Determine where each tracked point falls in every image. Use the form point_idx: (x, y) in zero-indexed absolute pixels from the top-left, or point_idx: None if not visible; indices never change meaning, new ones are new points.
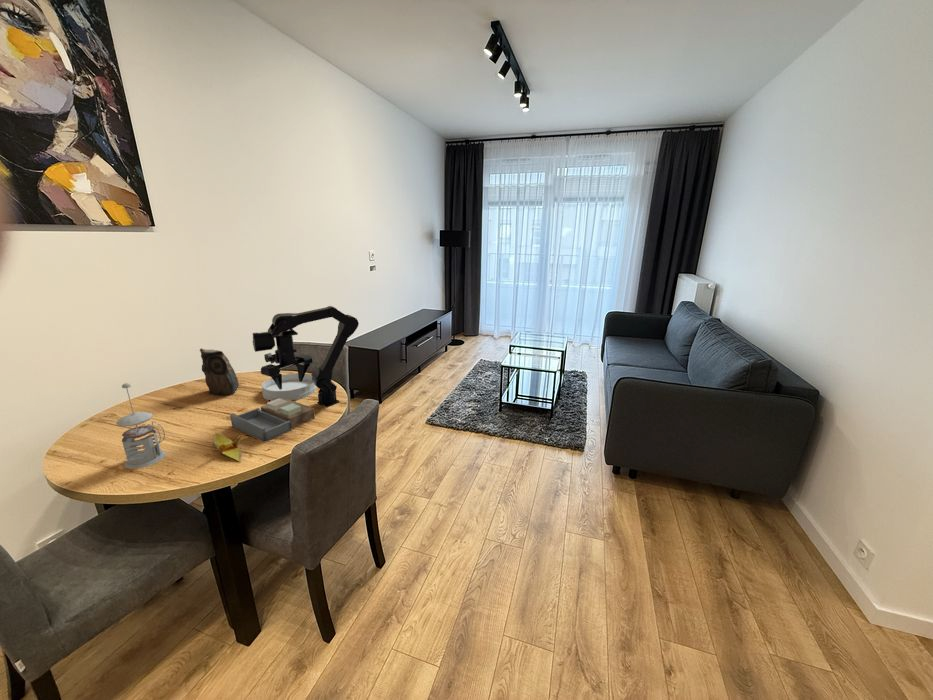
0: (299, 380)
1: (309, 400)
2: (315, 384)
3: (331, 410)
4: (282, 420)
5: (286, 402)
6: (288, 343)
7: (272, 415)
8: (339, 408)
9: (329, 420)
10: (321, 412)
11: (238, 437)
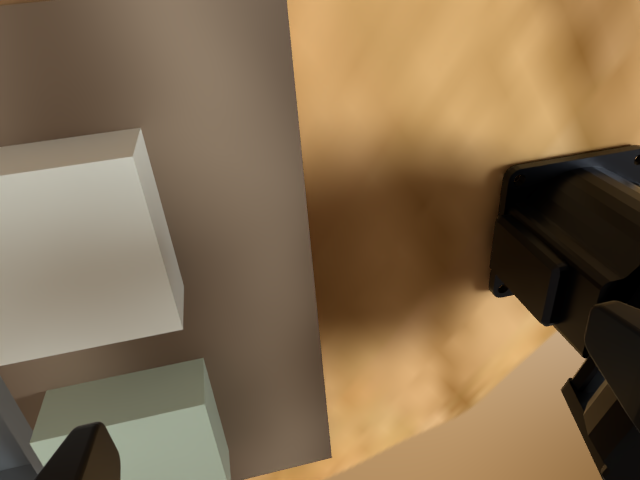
0: (608, 320)
1: (533, 22)
2: (617, 431)
3: (461, 352)
4: (33, 460)
5: (169, 323)
6: None
7: None
8: (512, 356)
9: (350, 456)
10: (400, 338)
11: None
